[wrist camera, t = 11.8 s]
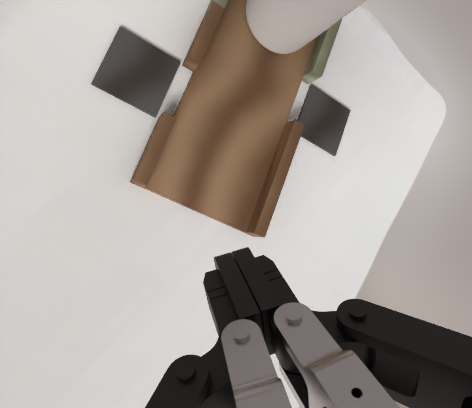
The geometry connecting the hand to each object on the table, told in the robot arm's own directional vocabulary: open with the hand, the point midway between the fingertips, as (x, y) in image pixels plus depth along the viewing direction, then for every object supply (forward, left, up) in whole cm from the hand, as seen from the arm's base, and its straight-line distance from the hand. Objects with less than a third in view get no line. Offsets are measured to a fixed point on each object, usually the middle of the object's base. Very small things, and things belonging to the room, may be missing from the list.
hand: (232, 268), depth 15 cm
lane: (+3, +18, -19) cm, 26 cm away
